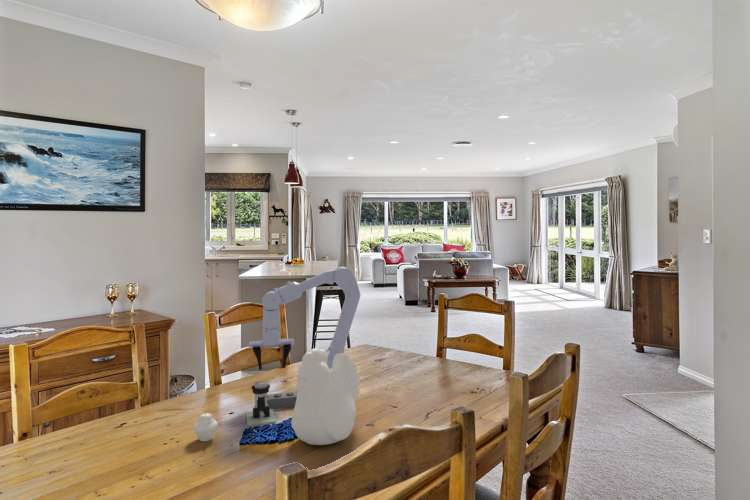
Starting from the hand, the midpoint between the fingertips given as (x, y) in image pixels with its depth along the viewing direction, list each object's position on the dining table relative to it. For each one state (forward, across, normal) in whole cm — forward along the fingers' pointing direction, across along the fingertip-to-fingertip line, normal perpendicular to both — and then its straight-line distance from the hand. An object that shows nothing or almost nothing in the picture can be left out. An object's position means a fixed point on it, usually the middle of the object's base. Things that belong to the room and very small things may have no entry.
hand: (272, 368), depth 156 cm
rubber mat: (+10, +5, +16) cm, 20 cm away
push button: (+10, +6, +16) cm, 20 cm away
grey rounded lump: (+11, +20, +26) cm, 34 cm away
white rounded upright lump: (+11, -13, +35) cm, 39 cm away
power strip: (+10, -4, +6) cm, 13 cm away
